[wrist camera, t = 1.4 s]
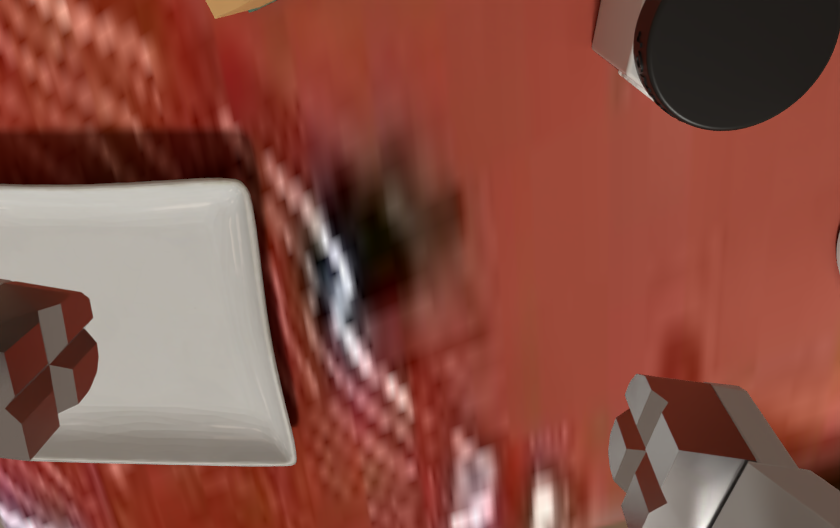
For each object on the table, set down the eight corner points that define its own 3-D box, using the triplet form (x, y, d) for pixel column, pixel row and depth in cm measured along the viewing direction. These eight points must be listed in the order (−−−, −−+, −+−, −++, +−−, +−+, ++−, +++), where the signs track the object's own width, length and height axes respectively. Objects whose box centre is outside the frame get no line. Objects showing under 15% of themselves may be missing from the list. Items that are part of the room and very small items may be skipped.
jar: (561, 29, 37) (599, 60, 26) (655, -96, 34) (743, -119, 23) (666, 112, 39) (741, 171, 28) (765, 1, 36) (893, 21, 25)
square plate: (34, 434, 58) (7, 465, 54) (-85, 166, 45) (-130, 183, 42) (306, 442, 56) (296, 474, 52) (261, 163, 43) (244, 181, 40)
